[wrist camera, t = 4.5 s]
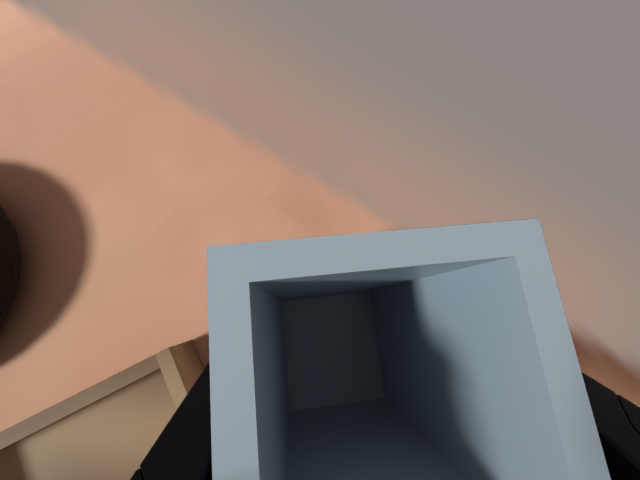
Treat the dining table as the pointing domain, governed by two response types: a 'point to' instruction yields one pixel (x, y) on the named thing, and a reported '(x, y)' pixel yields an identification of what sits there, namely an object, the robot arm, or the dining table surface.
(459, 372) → the tall grey bin
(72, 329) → the dining table surface
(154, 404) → the shallow brown tray
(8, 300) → the donut
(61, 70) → the dining table surface
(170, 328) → the dining table surface
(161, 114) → the dining table surface
